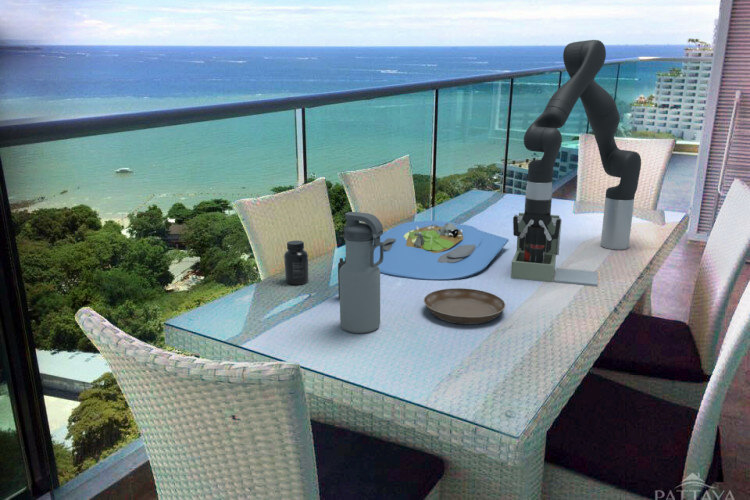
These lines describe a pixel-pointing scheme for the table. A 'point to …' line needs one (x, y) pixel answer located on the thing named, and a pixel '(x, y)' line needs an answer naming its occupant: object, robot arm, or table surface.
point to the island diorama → (436, 250)
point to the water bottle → (360, 274)
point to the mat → (576, 277)
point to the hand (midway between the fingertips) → (534, 250)
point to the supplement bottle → (296, 263)
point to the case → (536, 269)
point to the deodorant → (535, 245)
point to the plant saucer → (464, 305)
